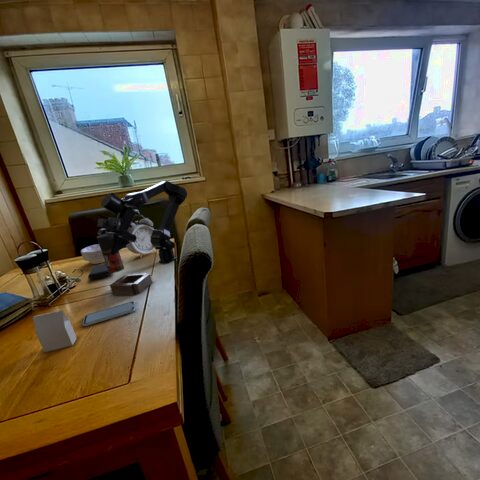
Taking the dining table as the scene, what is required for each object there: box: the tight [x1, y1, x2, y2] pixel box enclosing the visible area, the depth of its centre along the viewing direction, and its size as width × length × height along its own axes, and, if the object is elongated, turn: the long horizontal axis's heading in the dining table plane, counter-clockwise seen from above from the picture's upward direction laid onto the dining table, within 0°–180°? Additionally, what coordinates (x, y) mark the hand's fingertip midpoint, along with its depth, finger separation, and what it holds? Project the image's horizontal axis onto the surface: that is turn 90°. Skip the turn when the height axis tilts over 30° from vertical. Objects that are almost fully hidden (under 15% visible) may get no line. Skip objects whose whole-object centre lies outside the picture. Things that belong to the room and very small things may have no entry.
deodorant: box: [96, 233, 125, 274], centre depth 112 cm, size 6×6×15 cm
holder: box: [109, 272, 153, 297], centre depth 108 cm, size 11×11×4 cm
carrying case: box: [87, 263, 113, 281], centre depth 129 cm, size 11×3×15 cm
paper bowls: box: [80, 243, 105, 265], centre depth 148 cm, size 15×15×8 cm
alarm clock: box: [125, 214, 157, 259], centre depth 147 cm, size 16×9×22 cm, turn 147°
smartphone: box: [82, 301, 136, 327], centre depth 90 cm, size 7×1×15 cm
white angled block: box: [32, 309, 78, 353], centre depth 75 cm, size 4×7×10 cm, turn 108°
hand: (107, 254), depth 111 cm, fingers closed on deodorant, 6 cm apart
